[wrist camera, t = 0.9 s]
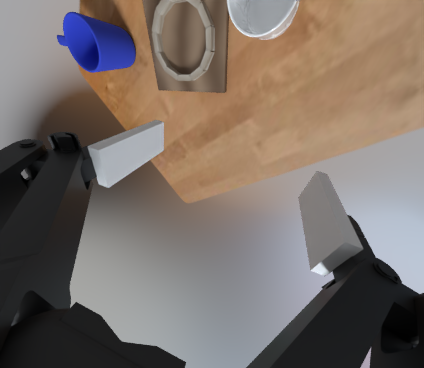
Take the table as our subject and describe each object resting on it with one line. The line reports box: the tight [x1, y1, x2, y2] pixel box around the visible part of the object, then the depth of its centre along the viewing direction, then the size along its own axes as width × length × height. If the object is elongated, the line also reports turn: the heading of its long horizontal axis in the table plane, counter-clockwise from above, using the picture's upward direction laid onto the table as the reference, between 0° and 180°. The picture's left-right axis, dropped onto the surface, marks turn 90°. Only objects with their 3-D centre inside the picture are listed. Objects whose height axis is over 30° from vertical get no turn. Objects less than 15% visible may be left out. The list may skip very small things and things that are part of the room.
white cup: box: [227, 0, 300, 40], centre depth 21 cm, size 8×8×10 cm
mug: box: [57, 12, 136, 72], centre depth 33 cm, size 8×12×10 cm
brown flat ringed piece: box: [143, 0, 229, 93], centre depth 30 cm, size 16×16×3 cm
